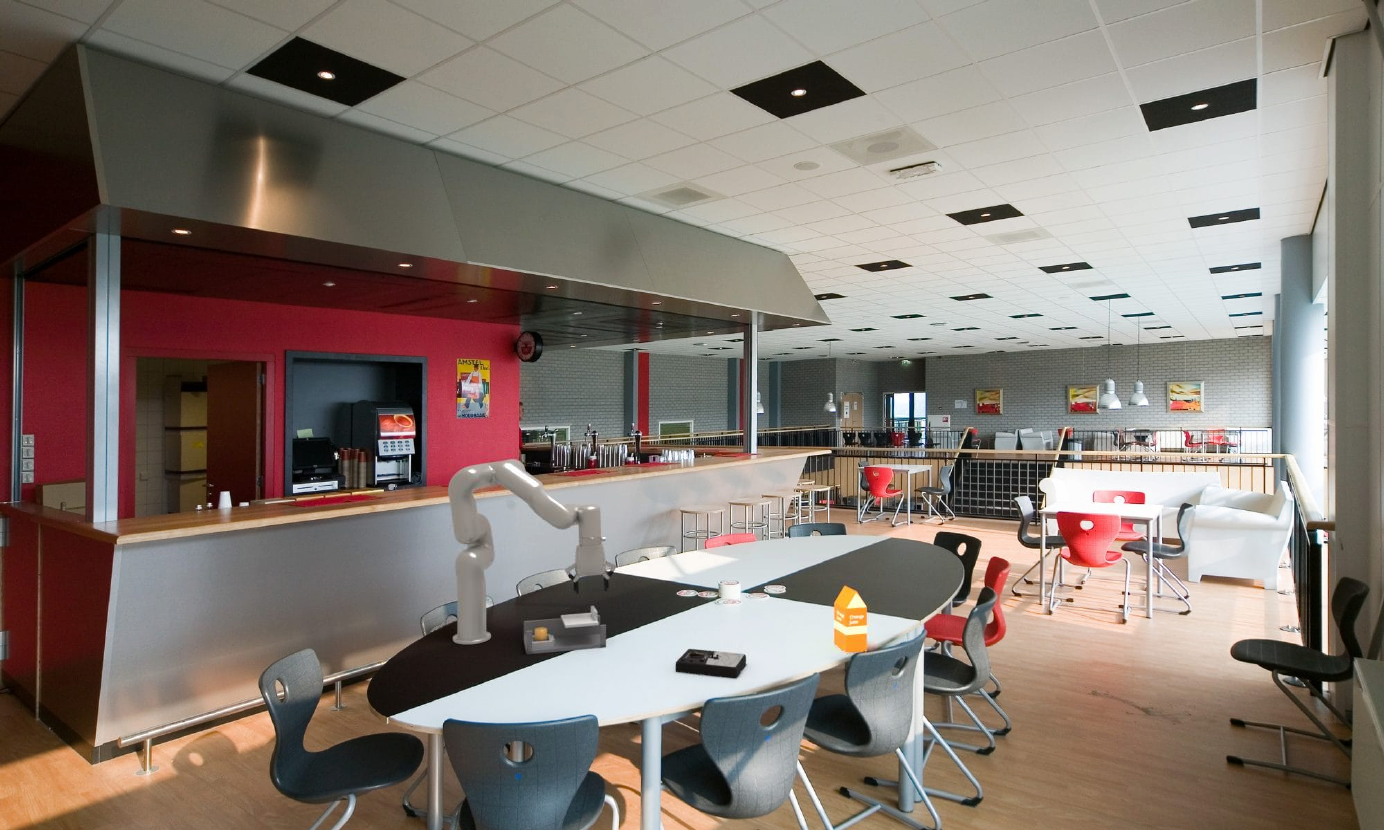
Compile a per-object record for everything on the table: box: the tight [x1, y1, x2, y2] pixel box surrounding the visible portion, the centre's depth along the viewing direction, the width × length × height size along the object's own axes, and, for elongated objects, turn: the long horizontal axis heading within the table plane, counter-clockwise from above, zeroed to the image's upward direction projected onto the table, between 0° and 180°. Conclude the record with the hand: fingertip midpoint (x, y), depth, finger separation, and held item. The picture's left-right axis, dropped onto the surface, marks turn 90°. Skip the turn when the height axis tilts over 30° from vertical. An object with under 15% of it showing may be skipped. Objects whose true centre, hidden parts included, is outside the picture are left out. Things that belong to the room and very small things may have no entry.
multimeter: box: [674, 648, 747, 680], centre depth 230 cm, size 13×19×5 cm
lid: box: [560, 605, 599, 628], centre depth 254 cm, size 13×11×4 cm
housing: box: [523, 614, 607, 655], centre depth 252 cm, size 13×26×7 cm, turn 106°
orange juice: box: [833, 585, 868, 653], centre depth 249 cm, size 8×9×20 cm
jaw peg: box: [535, 627, 547, 642], centre depth 250 cm, size 4×4×5 cm
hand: (591, 591), depth 254 cm, fingers open, 9 cm apart
